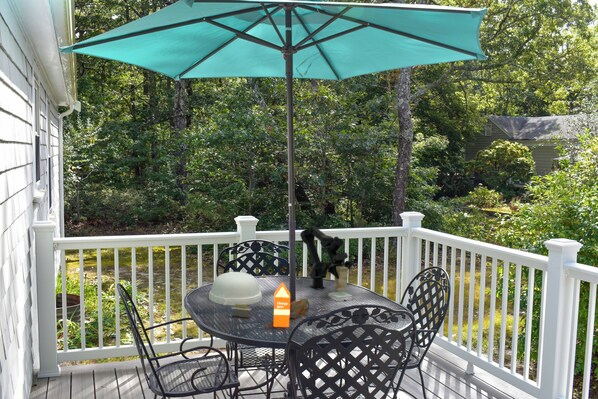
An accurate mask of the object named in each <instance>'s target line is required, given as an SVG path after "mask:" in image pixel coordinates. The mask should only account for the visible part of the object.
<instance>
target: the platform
mask: <svg viewBox="0 0 598 399" xmlns="http://www.w3.org/2000/svg"><path fill="white" fill-rule="evenodd" d="M231 309H233V316H234V317H238V316H239V317H241V318H250V311H251V310H252V308H251V307H250V306H248V305H247V304H244V305H241V304H238V303H237V304H236V305H232V307H231Z"/></svg>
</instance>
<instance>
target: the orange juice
mask: <svg viewBox="0 0 598 399" xmlns="http://www.w3.org/2000/svg"><path fill="white" fill-rule="evenodd" d="M273 297H274V299H273V300H274V302H273V327H275V328H280V327H281V328H290V316H289V315H290V303H291V292H290V291H289V290H288V288H287V286H286V285H285V284H284V282H281V283H280V285H279V286H278V288H277V289H276V290H275V291H274V294H273Z"/></svg>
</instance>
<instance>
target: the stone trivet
mask: <svg viewBox="0 0 598 399" xmlns="http://www.w3.org/2000/svg"><path fill="white" fill-rule="evenodd" d="M328 296H331V297H333V298H336V299H341V298H346V297H352V296H353V295H352V294H350V293H347V292H345V291H337V292H329V293H328Z"/></svg>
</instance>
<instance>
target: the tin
mask: <svg viewBox="0 0 598 399" xmlns="http://www.w3.org/2000/svg"><path fill="white" fill-rule="evenodd" d="M309 309H310V303H309V301H308V299H306V298H299V299H297V300H293V301H290V315H289V318H293V319H297V318H296V317H298V316H301V315H303V316H305V315H304V314H306V313H308V312H309ZM306 315H307V314H306ZM301 317H302V316H301ZM298 318H299V317H298Z"/></svg>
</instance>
